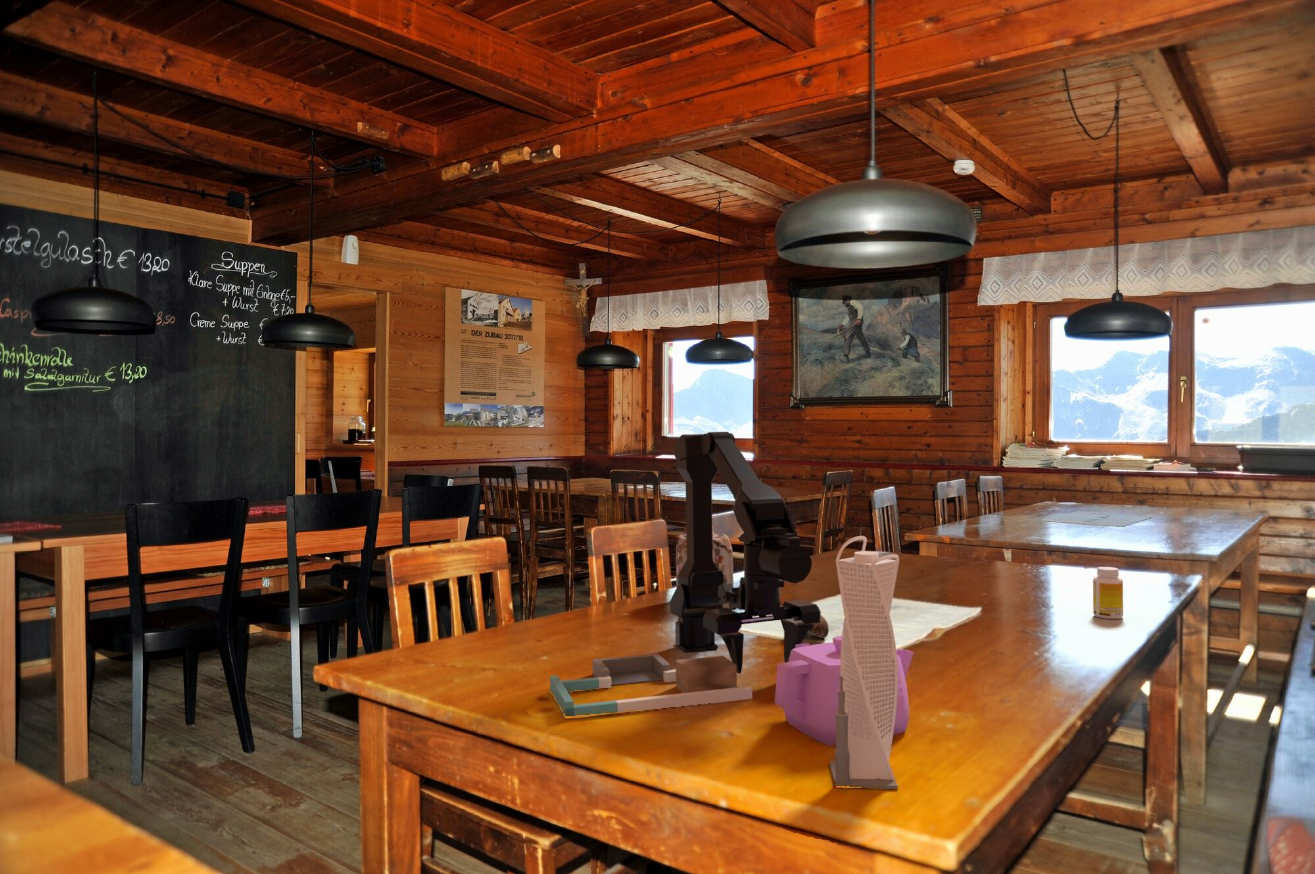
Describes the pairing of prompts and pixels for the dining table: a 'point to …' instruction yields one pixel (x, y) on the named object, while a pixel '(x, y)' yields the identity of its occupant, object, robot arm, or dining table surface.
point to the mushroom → (819, 629)
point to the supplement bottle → (1108, 594)
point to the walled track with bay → (634, 672)
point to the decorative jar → (720, 556)
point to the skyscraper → (866, 671)
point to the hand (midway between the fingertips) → (763, 669)
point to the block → (705, 674)
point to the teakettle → (825, 689)
